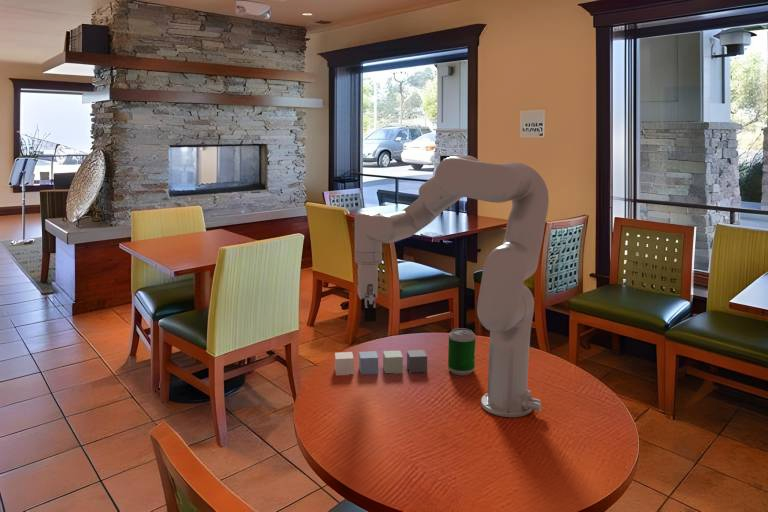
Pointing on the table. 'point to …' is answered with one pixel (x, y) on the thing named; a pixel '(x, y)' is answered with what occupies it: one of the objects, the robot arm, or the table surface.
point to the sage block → (392, 361)
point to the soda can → (461, 351)
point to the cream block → (344, 363)
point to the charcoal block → (417, 361)
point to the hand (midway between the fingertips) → (368, 315)
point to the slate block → (368, 362)
